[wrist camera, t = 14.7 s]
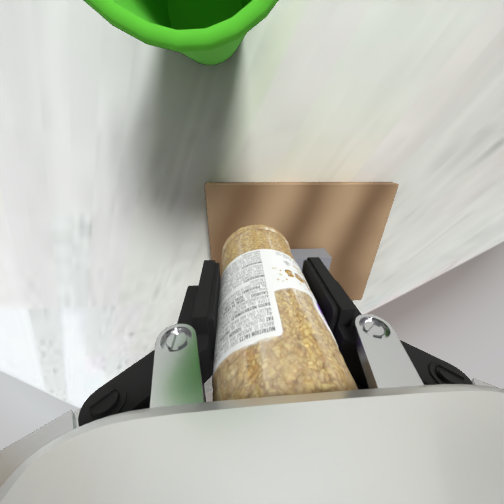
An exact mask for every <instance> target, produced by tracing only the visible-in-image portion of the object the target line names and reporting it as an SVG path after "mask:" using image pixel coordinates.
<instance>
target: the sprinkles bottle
mask: <svg viewBox="0 0 504 504" xmlns="http://www.w3.org/2000/svg"><path fill="white" fill-rule="evenodd" d="M221 257H222V265H223V269H222V277H221V281H220V290H219V303H218V315H217V328H216V339H215V350H214V363H213V375H212V386H213V401H224V400H236V399H248V398H260V397H272V396H284V395H297V394H309V393H322V392H334V391H347V390H358V388H357V385H356V383H355V381H354V379H353V377H352V375H351V373H350V372H349V370H348V368H347V366H346V364H345V361H344V359H343V356H342V355H341V353H340V351H339V348H338V345H337V343H336V340H335V338H334V336H333V334H332V332H331V330H330V328H329V326H328V324H327V322H326V320H325V318H324V316H323V313H322V311H321V309H320V307H319V305H318V303H317V301H316V299H315V297H314V295H313V293H312V291H311V290H310V288H309V286H308V284H307V281H306V279H305V277H304V275H303V273H302V271H301V269H300V267H299V266H298V264H297V263H296V262H295V260H294V258H293V256H292V254H291V250H290V246H289V244H288V241H287V240H286V238H285V237H284V236H283V235H282V234H281V233H280V232H279V231H277V230H276V229H274V228H272V227H269V226H265V225H251V226H246V227H242V228H240V229H238V230H237V231H236V232H234V233H233V234H232V235H231V236H230V237H229V238H228V239H227V240H226V242H225V244H224V246H223V249H222V256H221Z"/></svg>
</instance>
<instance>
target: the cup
mask: <svg viewBox="0 0 504 504" xmlns="http://www.w3.org/2000/svg"><path fill="white" fill-rule="evenodd" d="M84 1H85V2H86V3H87V4H88V5H90V6H91V7H92V8H93V9H94V10H95V11H97V12H98V13H99V14H100V15H101V16H102V17H103V18H105V19H106V20H107V21H108V22H109V23H110V24H112V25H113V26H115V27H116V28H118V29H120V30H122V31H124V32H126V33H127V34H129V35H131V36H133V37H135V38H137V39H138V40H140V41H142V42H144V43H146V44H149V45H153V46H157V47H161V48H165V49H169V50H173V51H177V52H181V53H182V54H184V55H186V56H187V57H189V58H191V59H193V60H194V61H196V62H198V63H201V64H205V65H216V64H219V63H221V62H224V61H225V60H227V59H228V58H229V57H230V56H232V54H233V53H234V52H235V50H236V49H237V48H238V46H239V45H240V43H241V41H242V40H243V38H244V37H245V35H246V33H247V32H248V31H249V30H251V29H252V28H253V27H254V26H255V25H257V24H258V23H259V22H260V21H262V20H263V19H264V18H265V17H266V16H267V15H268V14H269V12H270V11H271V10H272V8H273V7H274V6H275V4H276V3H277V2H278V0H84Z"/></svg>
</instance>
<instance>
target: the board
mask: <svg viewBox="0 0 504 504" xmlns="http://www.w3.org/2000/svg"><path fill="white" fill-rule="evenodd" d="M398 185H399V184H396V183H392V182H206V184H205V194H206V205H207V217H208V228H209V239H210V250H211V260H215V262H216V263H219V264H220V278H221V277H222V269H223V265H222V257H221V256H222V249H223V246H224V244H225V242H226V240H227V239H228V238H229V237H230V236H231V235H232V234H233V233H234V232H236V231H237V230H238V229H240V228H242V227H246V226H251V225H265V226H269V227H272V228H274V229H276V230H277V231H279V232H280V233H281V234H282V235H283V236H284V237H285V238H286V240H287V241H288V244H289V246H290V249H313V248H324V249H325V250H326V251H327V252H328V254H329V255H330V256H331V257H332V259H331V263H330V268H329V272H330V273H331V275H332V276H333V278H334V279H335V280H336V281H338V282H339V284H340V285H341V287H342V288H343V289H344V291H345V292H346V294H347V295H348V296H349V298H350V299H351V300H361V299H362V296H363V293H364V290H365V287H366V283H367V280H368V277H369V274H370V271H371V268H372V265H373V262H374V259H375V256H376V253H377V250H378V247H379V244H380V241H381V237H382V234H383V231H384V228H385V225H386V222H387V219H388V216H389V213H390V210H391V207H392V204H393V201H394V198H395V195H396V191H397V188H398Z"/></svg>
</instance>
